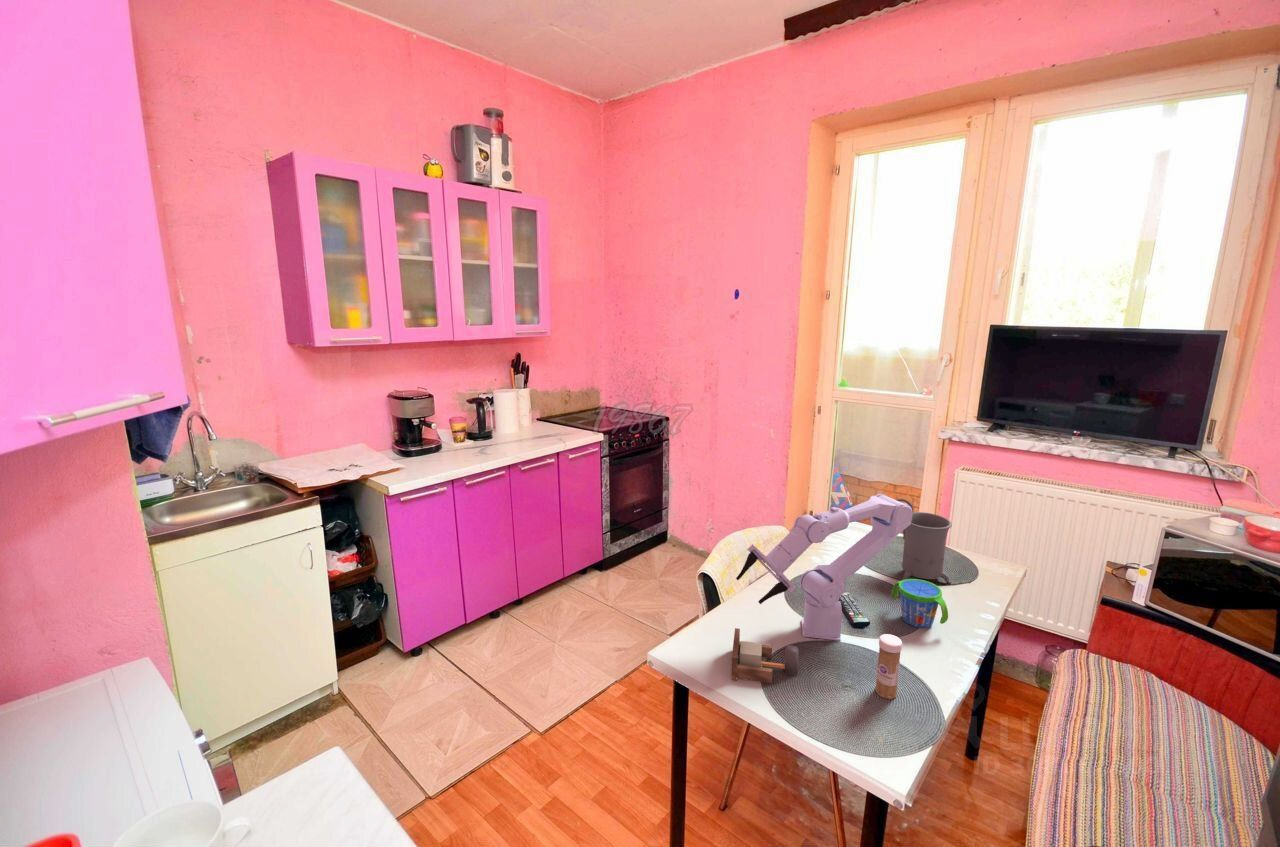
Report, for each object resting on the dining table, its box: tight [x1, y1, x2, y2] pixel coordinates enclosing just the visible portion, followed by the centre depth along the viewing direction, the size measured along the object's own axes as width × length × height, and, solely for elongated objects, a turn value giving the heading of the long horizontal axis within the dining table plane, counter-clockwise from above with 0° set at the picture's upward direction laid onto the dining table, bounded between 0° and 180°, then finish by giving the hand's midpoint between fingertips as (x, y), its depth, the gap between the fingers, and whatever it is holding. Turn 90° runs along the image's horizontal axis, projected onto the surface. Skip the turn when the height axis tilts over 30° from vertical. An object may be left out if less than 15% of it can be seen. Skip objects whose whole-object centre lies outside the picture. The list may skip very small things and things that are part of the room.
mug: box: [896, 498, 953, 585], centre depth 170 cm, size 19×15×25 cm
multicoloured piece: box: [739, 640, 800, 677], centre depth 129 cm, size 14×5×6 cm, turn 77°
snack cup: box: [891, 578, 949, 628], centre depth 147 cm, size 16×10×10 cm
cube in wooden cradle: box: [730, 627, 773, 684], centre depth 130 cm, size 9×12×6 cm
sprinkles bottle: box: [874, 633, 903, 700], centre depth 119 cm, size 5×5×13 cm
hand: (747, 591), depth 135 cm, fingers open, 7 cm apart
